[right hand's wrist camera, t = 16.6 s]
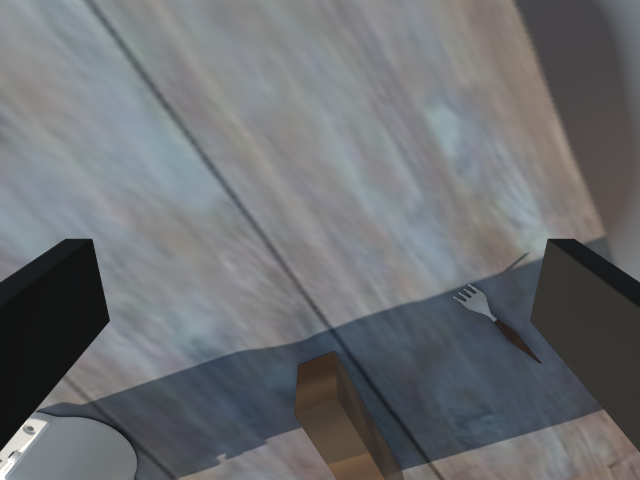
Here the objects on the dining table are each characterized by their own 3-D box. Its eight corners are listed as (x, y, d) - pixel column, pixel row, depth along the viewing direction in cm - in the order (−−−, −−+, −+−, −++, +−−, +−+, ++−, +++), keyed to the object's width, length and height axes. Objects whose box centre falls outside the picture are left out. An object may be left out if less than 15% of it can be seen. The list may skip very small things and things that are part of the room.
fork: (530, 367, 53) (538, 377, 51) (447, 290, 49) (452, 298, 47) (547, 354, 53) (556, 365, 51) (465, 275, 48) (470, 283, 47)
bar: (297, 365, 53) (294, 415, 46) (334, 350, 53) (337, 398, 45) (368, 480, 61) (375, 539, 53) (401, 469, 60) (413, 527, 52)
